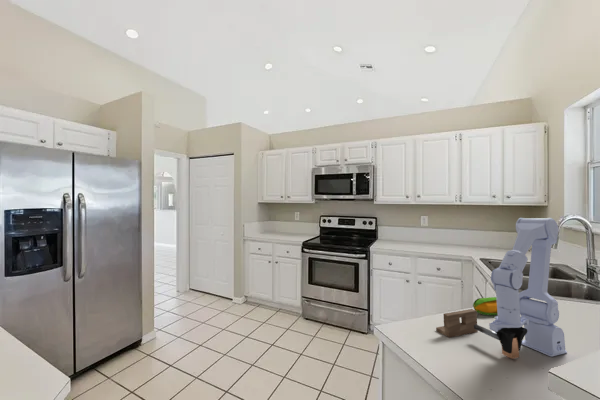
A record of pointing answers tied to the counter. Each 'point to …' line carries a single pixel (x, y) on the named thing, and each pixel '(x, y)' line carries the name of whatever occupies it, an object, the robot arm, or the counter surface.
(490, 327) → the robot arm
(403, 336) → the counter surface
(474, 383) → the counter surface
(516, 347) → the hook pin
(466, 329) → the slotted wooden block
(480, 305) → the corn
